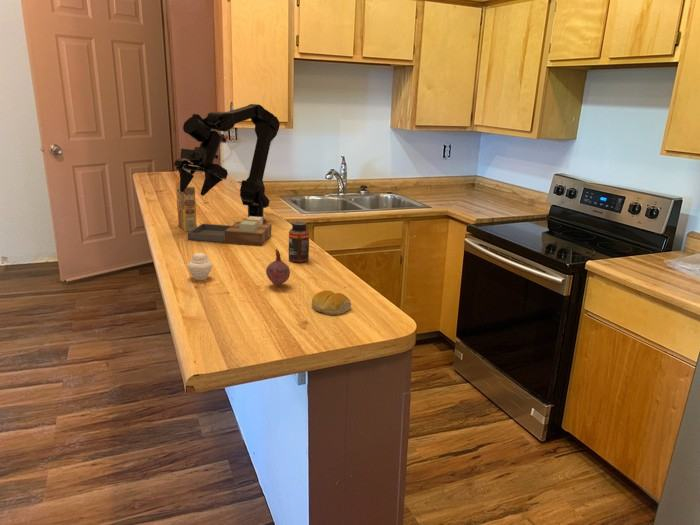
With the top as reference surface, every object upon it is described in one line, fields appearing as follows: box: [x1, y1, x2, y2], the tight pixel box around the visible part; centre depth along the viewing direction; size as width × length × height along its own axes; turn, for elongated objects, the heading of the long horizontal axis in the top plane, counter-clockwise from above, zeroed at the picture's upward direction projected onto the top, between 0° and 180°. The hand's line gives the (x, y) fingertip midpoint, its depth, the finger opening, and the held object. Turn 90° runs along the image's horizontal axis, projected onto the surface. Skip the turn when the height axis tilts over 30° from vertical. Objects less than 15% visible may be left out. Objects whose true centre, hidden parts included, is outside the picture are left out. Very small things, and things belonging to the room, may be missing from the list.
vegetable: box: [265, 248, 291, 287], centre depth 135 cm, size 6×6×10 cm
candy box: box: [175, 182, 198, 232], centre depth 184 cm, size 9×4×15 cm, turn 33°
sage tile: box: [240, 220, 257, 233], centre depth 172 cm, size 4×4×2 cm
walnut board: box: [224, 221, 272, 247], centre depth 176 cm, size 13×12×4 cm
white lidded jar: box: [187, 252, 213, 281], centre depth 138 cm, size 6×6×7 cm
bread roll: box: [311, 289, 352, 316], centre depth 125 cm, size 8×9×4 cm
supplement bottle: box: [288, 221, 310, 264], centre depth 157 cm, size 6×6×11 cm
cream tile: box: [245, 216, 264, 227], centre depth 179 cm, size 4×4×2 cm
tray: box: [187, 223, 232, 244], centre depth 178 cm, size 13×12×2 cm
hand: (191, 193), depth 170 cm, fingers open, 9 cm apart
